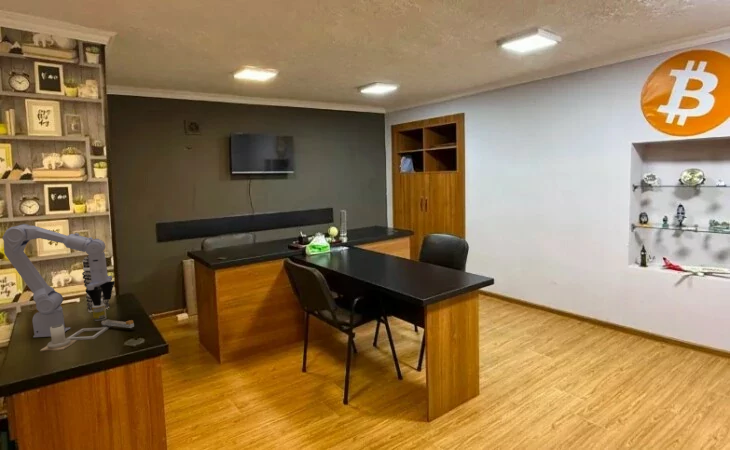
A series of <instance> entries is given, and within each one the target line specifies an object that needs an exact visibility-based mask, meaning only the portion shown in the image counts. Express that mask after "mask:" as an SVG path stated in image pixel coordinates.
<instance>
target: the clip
mask: <svg viewBox="0 0 730 450" xmlns="http://www.w3.org/2000/svg"><path fill="white" fill-rule="evenodd" d="M100 321H101V323H100V324H101V326H103V325H110V326H111V327H119V328H127V329H133V328H134V327H135V323H134V320H132V319H131V320H129V319H128V320H127V321H122V320H121V321H120V320H111V319H109V318H108V319H107V318H106V319H104V320H100Z"/></svg>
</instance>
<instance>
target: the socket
mask: <svg viewBox="0 0 730 450" xmlns="http://www.w3.org/2000/svg"><path fill="white" fill-rule="evenodd" d="M108 330H109V329H108V327H103V326H101V327H87V328H86V327H85V328H81V329H79V330H77V331H76V332H75V333H73V334H71V335H69V336H67V338H70V340H77V341H81V340H83V341H84V340H95V339H96V338H97V337H99V336H100V335H102V334H104V332H106V331H108ZM95 331H97V332H96V333H95V334H94V335H89V336H79V335H81V333H83V332H95Z"/></svg>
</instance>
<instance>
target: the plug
mask: <svg viewBox="0 0 730 450" xmlns="http://www.w3.org/2000/svg"><path fill="white" fill-rule="evenodd" d="M50 332H51V336H50V338H51V340H50V341H49V342H48V343H47V345H46V346H48V348H49V349H56V348H61V347H64V346H67V345H69V344H70V343H71V340H70V338H68V337H66V332H64V325H63V324H57V325H53V326H52V327H50Z"/></svg>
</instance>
